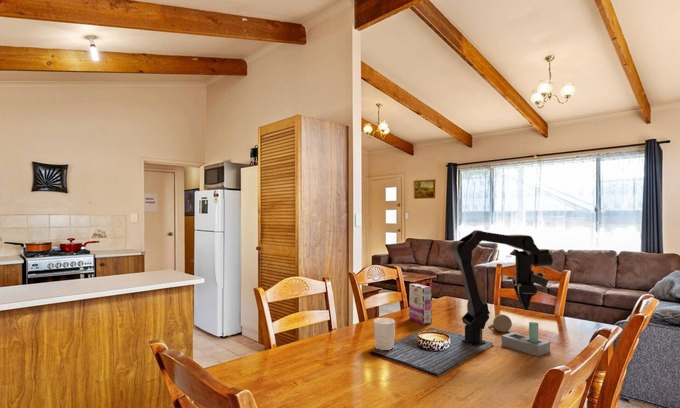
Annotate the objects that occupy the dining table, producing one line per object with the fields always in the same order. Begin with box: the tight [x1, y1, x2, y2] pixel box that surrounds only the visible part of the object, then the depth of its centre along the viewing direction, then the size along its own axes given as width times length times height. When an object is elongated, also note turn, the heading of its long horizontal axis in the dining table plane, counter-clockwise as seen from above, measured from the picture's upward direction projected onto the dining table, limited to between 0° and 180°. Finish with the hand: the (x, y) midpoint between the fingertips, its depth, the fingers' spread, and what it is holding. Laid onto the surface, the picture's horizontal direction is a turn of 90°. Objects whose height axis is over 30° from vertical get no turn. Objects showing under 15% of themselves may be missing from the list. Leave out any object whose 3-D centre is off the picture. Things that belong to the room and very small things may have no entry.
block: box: [501, 331, 551, 357], centre depth 142 cm, size 8×14×4 cm, turn 34°
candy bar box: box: [408, 283, 433, 325], centre depth 178 cm, size 11×5×16 cm, turn 25°
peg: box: [528, 321, 540, 344], centre depth 139 cm, size 3×3×10 cm
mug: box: [488, 314, 513, 333], centre depth 164 cm, size 8×10×10 cm
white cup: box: [373, 317, 396, 351], centre depth 144 cm, size 8×8×10 cm
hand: (524, 307), depth 151 cm, fingers open, 9 cm apart
